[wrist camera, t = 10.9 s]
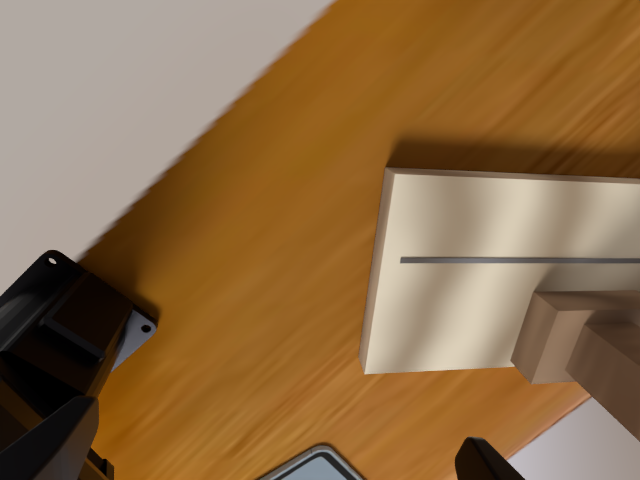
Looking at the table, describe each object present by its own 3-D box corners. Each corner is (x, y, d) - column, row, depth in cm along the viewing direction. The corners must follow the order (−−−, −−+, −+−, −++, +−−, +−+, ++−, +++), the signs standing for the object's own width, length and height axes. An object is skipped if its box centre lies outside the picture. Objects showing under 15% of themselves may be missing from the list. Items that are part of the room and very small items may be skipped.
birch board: (358, 356, 24) (364, 374, 22) (385, 167, 19) (395, 174, 18) (604, 346, 27) (623, 361, 25) (678, 180, 22) (707, 187, 21)
